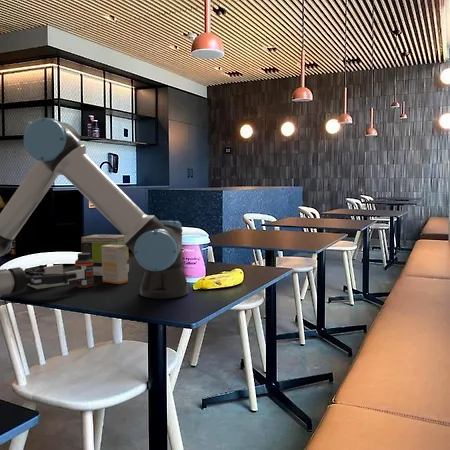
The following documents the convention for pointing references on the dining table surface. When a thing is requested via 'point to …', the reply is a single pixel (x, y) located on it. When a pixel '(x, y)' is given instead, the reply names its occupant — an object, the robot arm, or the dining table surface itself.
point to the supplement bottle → (87, 265)
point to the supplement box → (114, 263)
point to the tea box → (94, 248)
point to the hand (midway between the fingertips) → (72, 270)
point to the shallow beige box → (47, 285)
